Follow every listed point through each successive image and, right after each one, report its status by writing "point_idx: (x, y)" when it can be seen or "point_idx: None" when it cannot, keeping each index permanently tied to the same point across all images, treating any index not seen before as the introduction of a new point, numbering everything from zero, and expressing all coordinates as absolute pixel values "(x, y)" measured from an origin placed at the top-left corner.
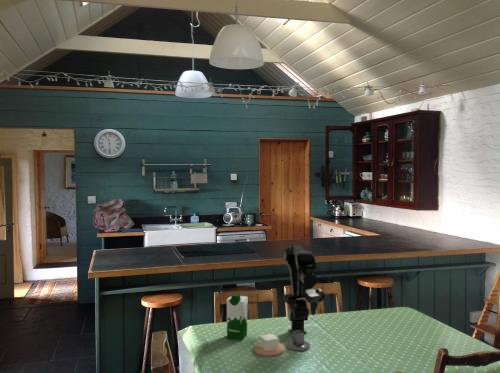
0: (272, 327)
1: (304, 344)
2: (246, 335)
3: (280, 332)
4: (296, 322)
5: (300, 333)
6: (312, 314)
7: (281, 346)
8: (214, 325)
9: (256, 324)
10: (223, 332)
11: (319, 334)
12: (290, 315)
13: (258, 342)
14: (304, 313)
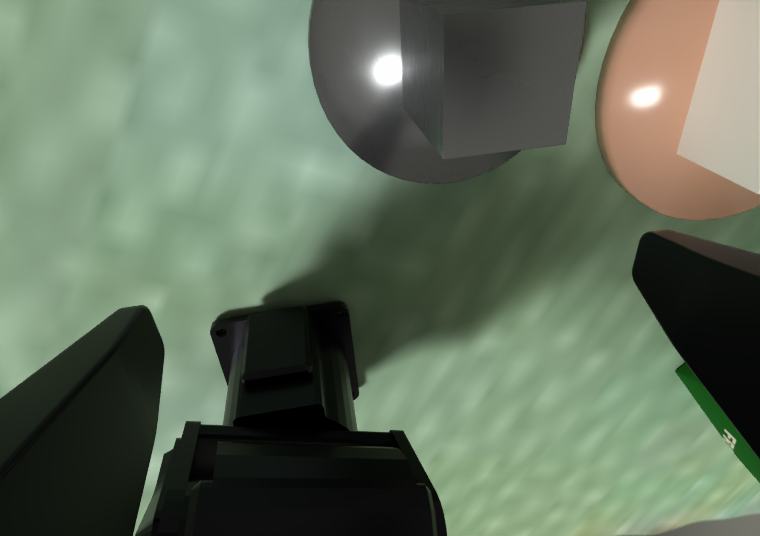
0: (438, 454)
1: (382, 17)
2: (685, 365)
3: (429, 376)
4: (329, 408)
5: (513, 7)
6: (155, 335)
7: (657, 44)
8: (721, 502)
9: (509, 497)
10: None
11: (77, 280)
12: (428, 478)
13: (757, 205)
14: (245, 482)
